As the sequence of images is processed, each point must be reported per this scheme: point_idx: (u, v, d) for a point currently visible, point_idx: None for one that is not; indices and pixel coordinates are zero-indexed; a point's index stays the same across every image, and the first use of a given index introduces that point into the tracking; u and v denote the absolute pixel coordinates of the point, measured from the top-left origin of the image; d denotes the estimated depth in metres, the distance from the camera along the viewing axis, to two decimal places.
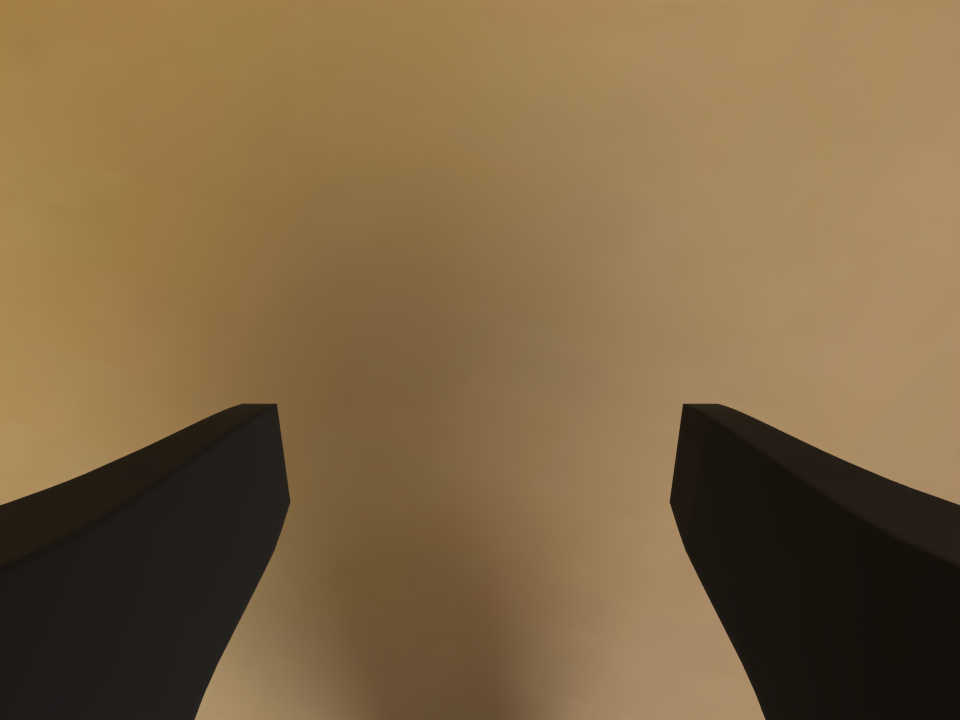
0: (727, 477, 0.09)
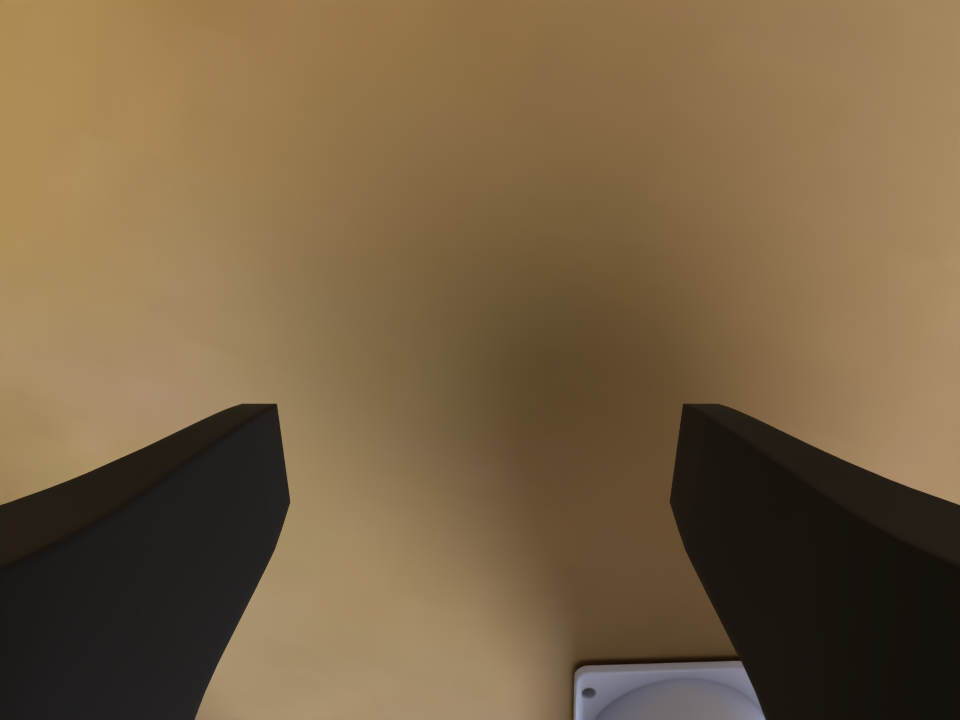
0: (727, 476, 0.09)
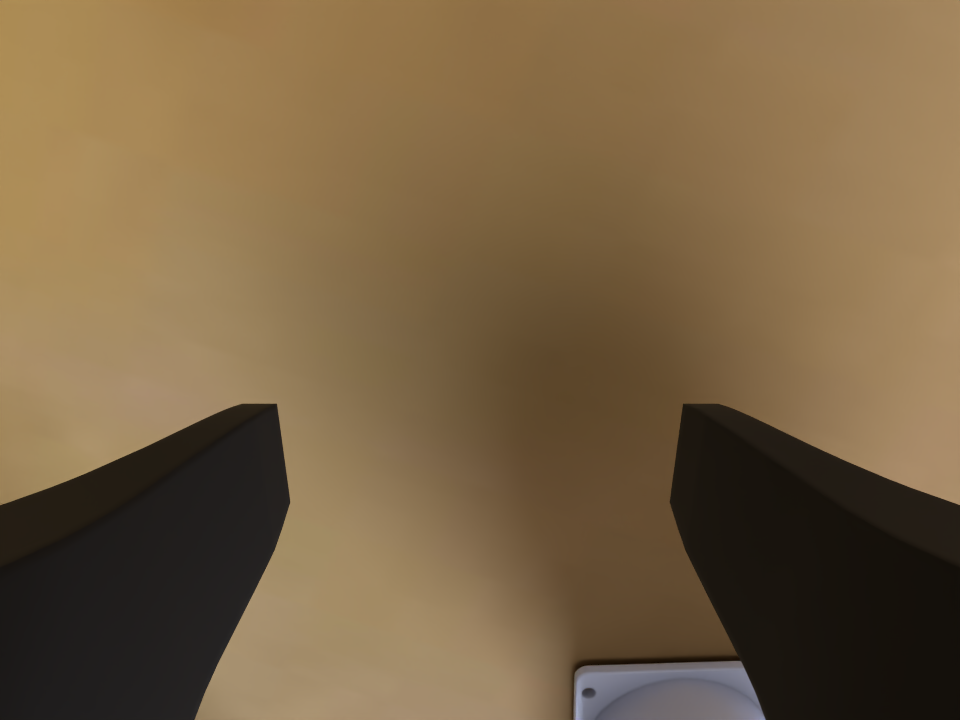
0: (727, 476, 0.09)
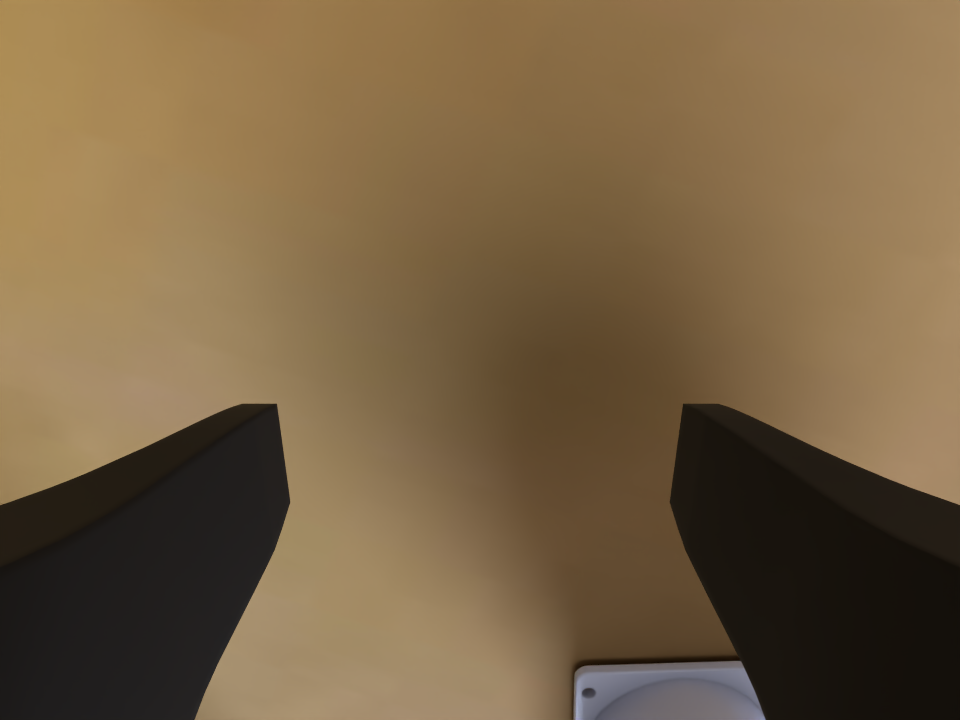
0: (727, 476, 0.09)
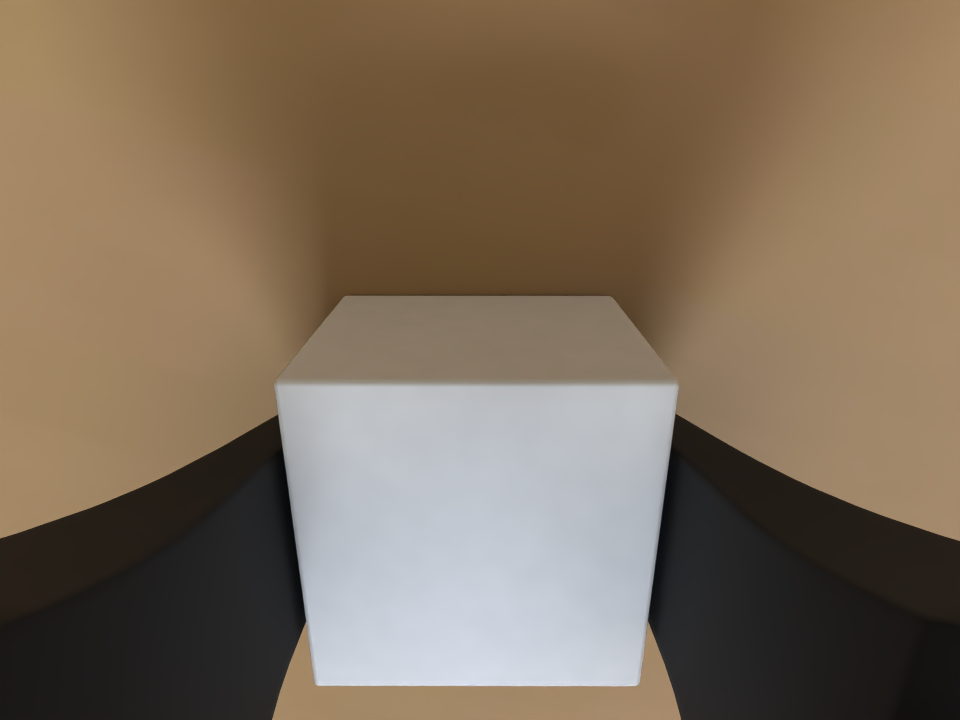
0: None
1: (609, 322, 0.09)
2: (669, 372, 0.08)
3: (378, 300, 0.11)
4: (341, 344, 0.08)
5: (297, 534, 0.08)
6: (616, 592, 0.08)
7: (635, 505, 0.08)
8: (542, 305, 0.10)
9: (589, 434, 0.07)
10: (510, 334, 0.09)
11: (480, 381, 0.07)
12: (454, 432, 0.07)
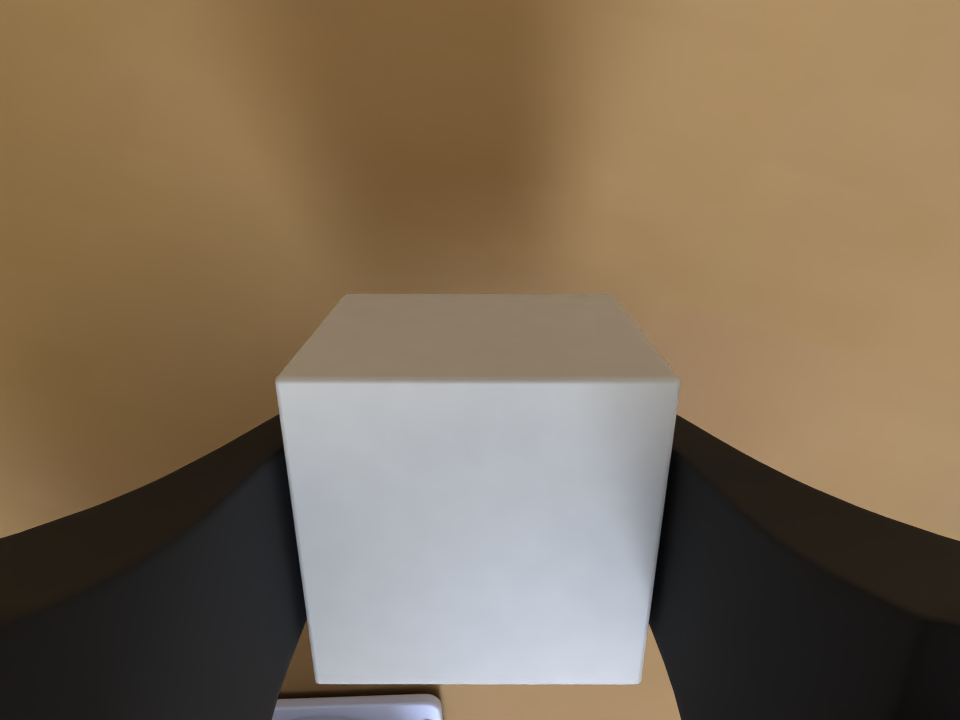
0: None
1: (610, 320, 0.09)
2: (671, 369, 0.08)
3: (379, 298, 0.11)
4: (342, 342, 0.08)
5: (298, 532, 0.08)
6: (618, 589, 0.08)
7: (636, 503, 0.08)
8: (543, 303, 0.10)
9: (592, 431, 0.07)
10: (512, 332, 0.09)
11: (481, 378, 0.07)
12: (456, 429, 0.07)
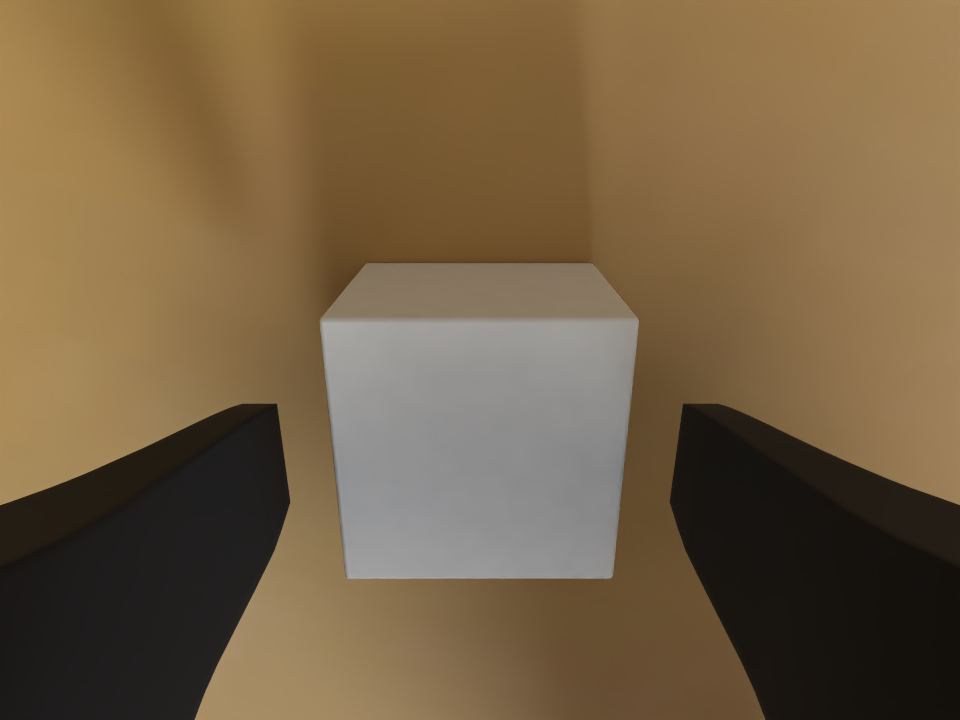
0: (727, 476, 0.09)
1: (588, 281, 0.11)
2: (632, 313, 0.09)
3: (395, 266, 0.13)
4: (368, 296, 0.10)
5: (335, 446, 0.10)
6: (592, 495, 0.10)
7: (606, 421, 0.10)
8: (533, 269, 0.12)
9: (569, 362, 0.09)
10: (506, 289, 0.11)
11: (481, 318, 0.09)
12: (462, 360, 0.09)
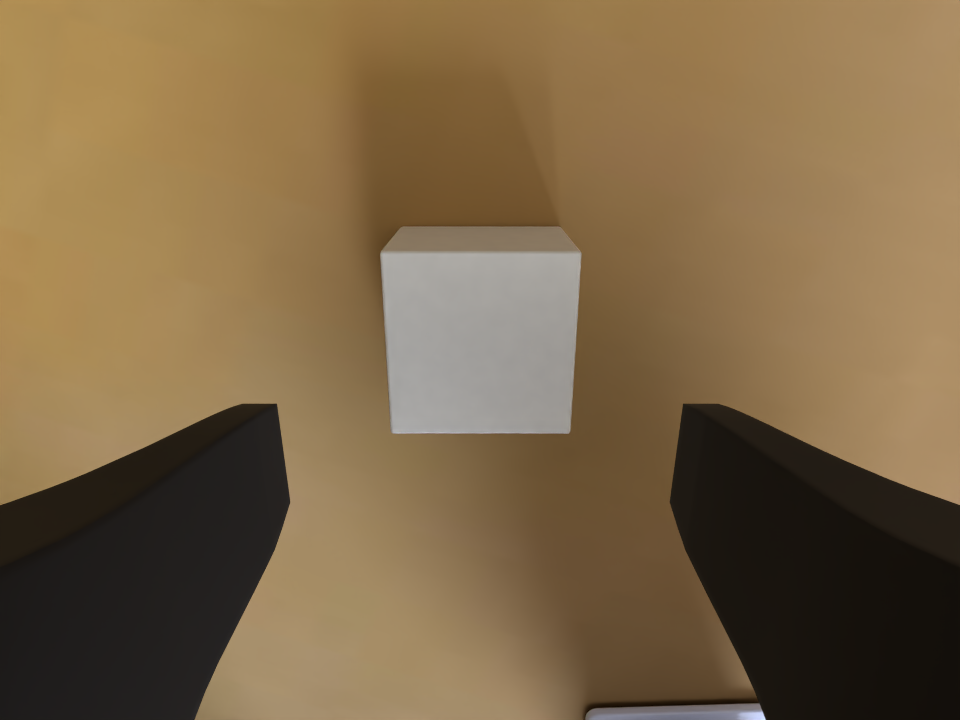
0: (727, 476, 0.09)
1: (554, 235, 0.17)
2: (577, 249, 0.15)
3: (422, 227, 0.18)
4: (408, 241, 0.16)
5: (387, 337, 0.15)
6: (554, 372, 0.16)
7: (562, 320, 0.15)
8: (518, 229, 0.18)
9: (537, 280, 0.15)
10: (498, 238, 0.16)
11: (482, 251, 0.15)
12: (470, 279, 0.15)
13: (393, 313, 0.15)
